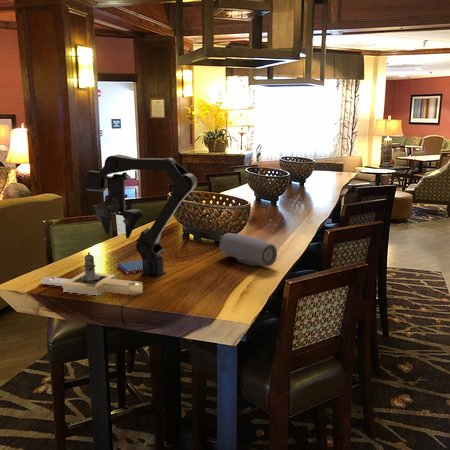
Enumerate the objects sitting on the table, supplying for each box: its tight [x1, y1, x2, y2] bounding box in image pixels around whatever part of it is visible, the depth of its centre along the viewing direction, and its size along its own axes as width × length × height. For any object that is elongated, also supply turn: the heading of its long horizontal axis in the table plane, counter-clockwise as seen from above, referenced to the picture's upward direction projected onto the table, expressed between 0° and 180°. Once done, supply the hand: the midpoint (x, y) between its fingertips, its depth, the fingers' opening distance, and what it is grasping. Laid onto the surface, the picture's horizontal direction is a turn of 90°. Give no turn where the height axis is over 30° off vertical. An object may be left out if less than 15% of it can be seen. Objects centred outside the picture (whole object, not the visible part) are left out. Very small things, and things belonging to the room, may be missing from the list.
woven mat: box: [116, 259, 143, 275], centre depth 178 cm, size 10×11×2 cm
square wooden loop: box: [62, 271, 144, 296], centre depth 156 cm, size 24×12×3 cm, turn 74°
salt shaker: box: [81, 251, 100, 284], centre depth 157 cm, size 6×6×12 cm
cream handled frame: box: [40, 276, 105, 297], centre depth 159 cm, size 24×12×2 cm, turn 74°
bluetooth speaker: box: [219, 232, 278, 267], centre depth 183 cm, size 23×9×10 cm, turn 41°
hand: (117, 236), depth 170 cm, fingers open, 9 cm apart
